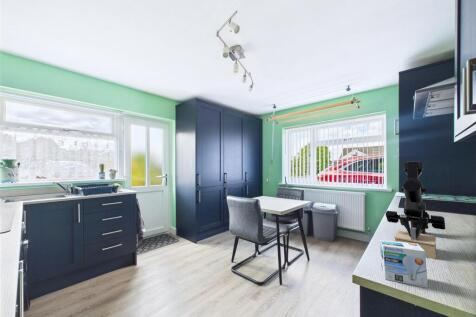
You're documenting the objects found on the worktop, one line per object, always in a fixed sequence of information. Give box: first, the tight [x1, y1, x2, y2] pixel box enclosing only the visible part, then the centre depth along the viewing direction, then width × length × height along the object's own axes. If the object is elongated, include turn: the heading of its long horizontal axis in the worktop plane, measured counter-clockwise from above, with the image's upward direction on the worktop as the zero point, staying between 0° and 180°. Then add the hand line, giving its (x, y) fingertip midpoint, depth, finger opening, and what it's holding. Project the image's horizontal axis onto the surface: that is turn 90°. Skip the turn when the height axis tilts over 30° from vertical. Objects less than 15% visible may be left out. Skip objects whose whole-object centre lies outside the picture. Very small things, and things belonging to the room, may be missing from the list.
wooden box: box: [394, 238, 437, 260], centre depth 83 cm, size 12×12×5 cm
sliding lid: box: [393, 226, 437, 245], centre depth 84 cm, size 12×12×5 cm
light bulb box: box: [379, 239, 429, 289], centre depth 63 cm, size 11×7×11 cm, turn 62°
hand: (413, 236), depth 79 cm, fingers closed on sliding lid, 2 cm apart
